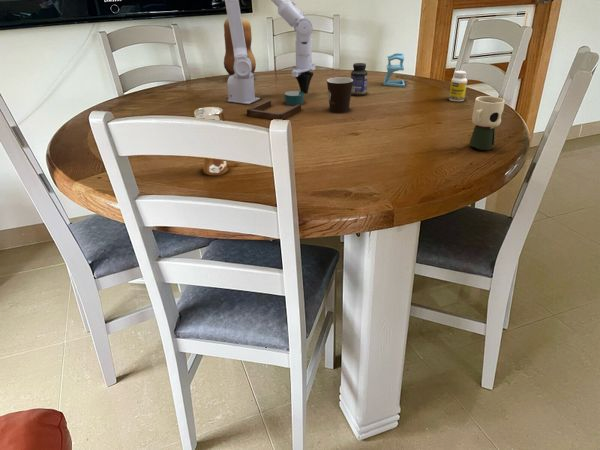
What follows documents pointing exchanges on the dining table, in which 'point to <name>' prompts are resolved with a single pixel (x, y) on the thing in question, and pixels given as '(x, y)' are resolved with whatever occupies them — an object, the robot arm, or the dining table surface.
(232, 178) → the dining table surface
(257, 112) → the walnut bay
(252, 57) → the butternut squash
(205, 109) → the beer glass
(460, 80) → the supplement bottle
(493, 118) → the character mug
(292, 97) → the teal puck
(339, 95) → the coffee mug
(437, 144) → the dining table surface
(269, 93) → the dining table surface
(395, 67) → the chair
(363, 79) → the pill bottle
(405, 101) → the dining table surface
